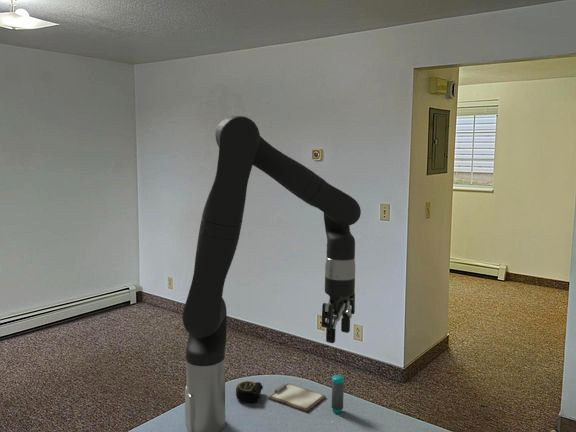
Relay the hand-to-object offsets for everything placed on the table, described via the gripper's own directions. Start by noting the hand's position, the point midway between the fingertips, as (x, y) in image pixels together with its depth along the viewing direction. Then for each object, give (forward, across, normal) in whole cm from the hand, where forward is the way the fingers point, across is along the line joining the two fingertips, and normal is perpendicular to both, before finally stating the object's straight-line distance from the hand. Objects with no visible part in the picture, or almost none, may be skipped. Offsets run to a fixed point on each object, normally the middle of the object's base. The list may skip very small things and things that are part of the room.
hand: (338, 337), depth 126 cm
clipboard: (+20, 0, +12) cm, 23 cm away
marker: (+20, 0, 0) cm, 20 cm away
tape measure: (+20, -7, +22) cm, 31 cm away
